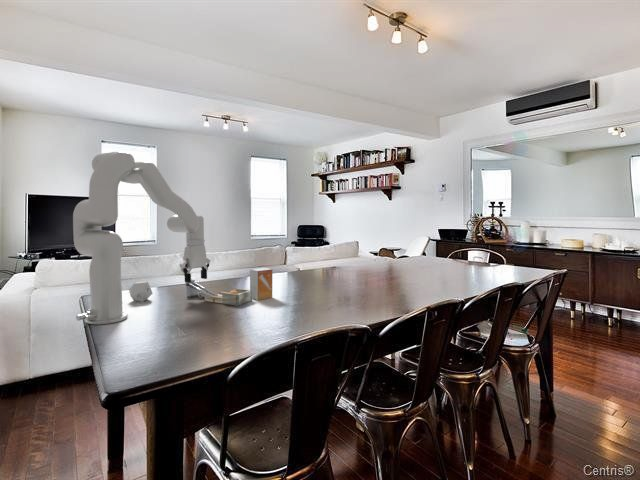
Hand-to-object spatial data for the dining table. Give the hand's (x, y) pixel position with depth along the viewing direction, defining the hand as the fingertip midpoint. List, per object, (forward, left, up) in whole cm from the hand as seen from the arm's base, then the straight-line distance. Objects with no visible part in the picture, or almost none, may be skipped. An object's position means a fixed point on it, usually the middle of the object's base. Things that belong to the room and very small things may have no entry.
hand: (196, 280), depth 163 cm
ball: (0, -22, -5) cm, 22 cm away
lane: (0, -18, -7) cm, 20 cm away
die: (-17, +15, -7) cm, 24 cm away
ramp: (0, -4, -7) cm, 8 cm away
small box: (+11, -28, -8) cm, 31 cm away
